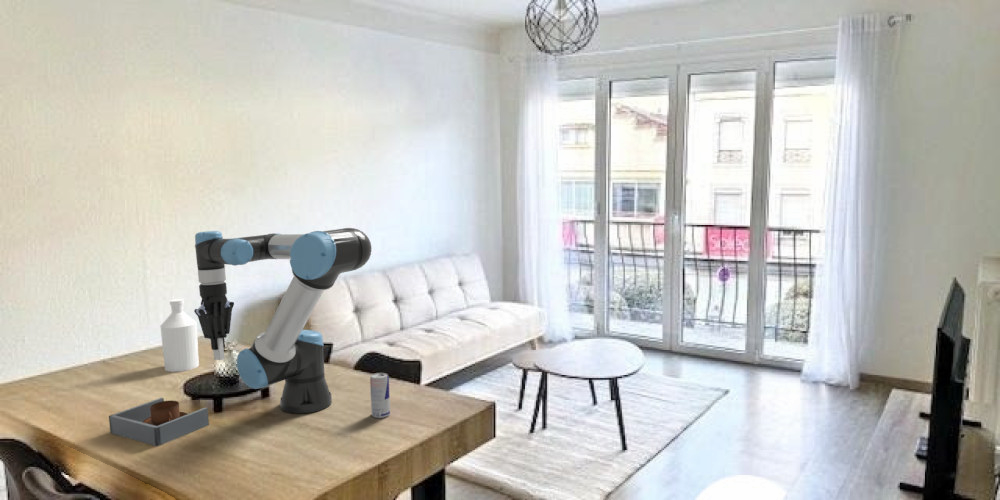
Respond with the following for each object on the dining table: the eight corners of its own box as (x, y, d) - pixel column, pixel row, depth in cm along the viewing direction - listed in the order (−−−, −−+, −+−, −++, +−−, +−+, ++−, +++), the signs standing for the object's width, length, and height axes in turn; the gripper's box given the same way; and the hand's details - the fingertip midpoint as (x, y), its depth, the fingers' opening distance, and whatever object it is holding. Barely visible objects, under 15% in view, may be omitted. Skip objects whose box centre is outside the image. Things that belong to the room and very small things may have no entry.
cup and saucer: (198, 422, 192) (197, 401, 191) (159, 437, 181) (157, 415, 181) (172, 415, 198) (170, 395, 197) (133, 429, 187) (131, 408, 186)
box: (208, 424, 189) (207, 407, 189) (157, 446, 175) (156, 428, 175) (162, 413, 198) (161, 397, 198) (110, 433, 184) (108, 415, 184)
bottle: (157, 368, 243) (151, 301, 240) (187, 360, 253) (182, 295, 250) (175, 373, 237) (170, 304, 233) (206, 365, 246) (201, 299, 243)
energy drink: (393, 412, 197) (391, 373, 195) (385, 419, 192) (383, 378, 190) (376, 410, 198) (375, 371, 197) (368, 417, 193) (366, 377, 191)
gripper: (221, 278, 207) (227, 352, 210) (185, 285, 196) (192, 363, 199) (238, 279, 204) (244, 354, 207) (203, 286, 193) (210, 366, 195)
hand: (219, 359), depth 203 cm, fingers closed
